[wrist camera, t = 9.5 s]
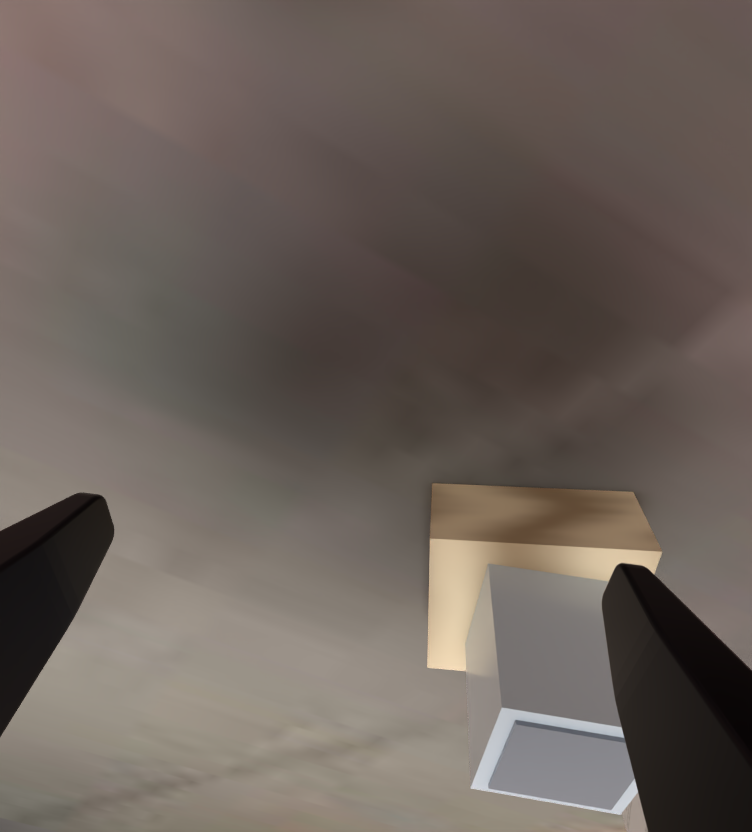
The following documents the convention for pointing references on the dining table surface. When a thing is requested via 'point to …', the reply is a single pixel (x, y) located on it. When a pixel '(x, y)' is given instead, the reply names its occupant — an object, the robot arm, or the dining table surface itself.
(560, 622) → the gray paneled cube
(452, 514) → the beige square block
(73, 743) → the dining table surface
